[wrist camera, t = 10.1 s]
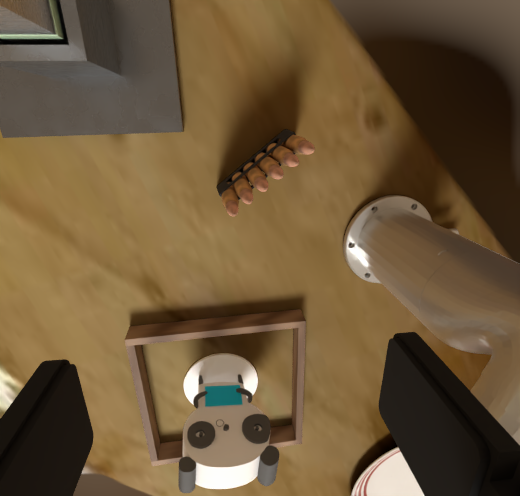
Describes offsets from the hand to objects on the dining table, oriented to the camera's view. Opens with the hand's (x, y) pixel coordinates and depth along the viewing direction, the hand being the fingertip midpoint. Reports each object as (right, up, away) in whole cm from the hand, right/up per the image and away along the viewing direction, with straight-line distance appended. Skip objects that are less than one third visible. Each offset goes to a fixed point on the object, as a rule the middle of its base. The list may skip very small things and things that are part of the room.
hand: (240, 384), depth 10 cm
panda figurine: (-5, -17, +42) cm, 45 cm away
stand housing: (-17, +25, +23) cm, 38 cm away
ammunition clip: (0, +14, +30) cm, 33 cm away
